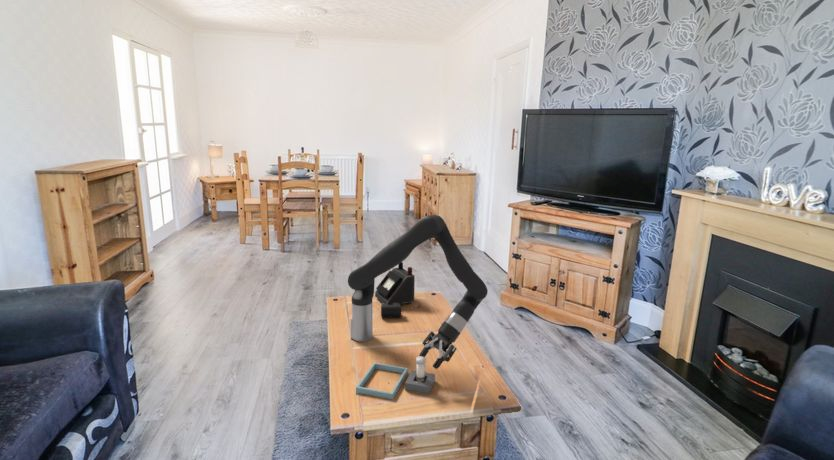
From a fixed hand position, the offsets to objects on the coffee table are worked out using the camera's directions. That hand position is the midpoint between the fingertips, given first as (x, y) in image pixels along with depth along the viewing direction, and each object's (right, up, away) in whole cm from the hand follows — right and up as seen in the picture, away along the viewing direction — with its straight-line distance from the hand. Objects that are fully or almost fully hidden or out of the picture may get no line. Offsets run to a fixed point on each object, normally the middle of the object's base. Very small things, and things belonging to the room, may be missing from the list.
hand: (427, 362), depth 165 cm
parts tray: (-17, -9, +2) cm, 19 cm away
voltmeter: (-17, +9, +81) cm, 83 cm away
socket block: (-3, -10, 0) cm, 10 cm away
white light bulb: (-3, -9, 0) cm, 9 cm away
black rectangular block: (-17, +5, +61) cm, 64 cm away
